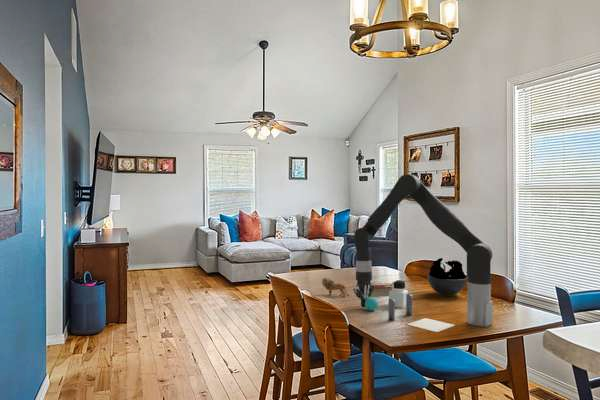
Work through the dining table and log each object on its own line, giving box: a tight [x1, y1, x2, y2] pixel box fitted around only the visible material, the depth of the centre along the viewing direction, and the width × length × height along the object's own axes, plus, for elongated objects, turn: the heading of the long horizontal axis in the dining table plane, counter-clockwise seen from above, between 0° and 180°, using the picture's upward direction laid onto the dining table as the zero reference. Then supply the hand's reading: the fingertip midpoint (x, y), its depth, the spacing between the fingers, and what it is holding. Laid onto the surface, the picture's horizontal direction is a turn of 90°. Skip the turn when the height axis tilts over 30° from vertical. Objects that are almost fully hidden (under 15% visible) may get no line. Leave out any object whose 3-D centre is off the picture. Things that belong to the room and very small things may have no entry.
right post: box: [405, 293, 413, 317], centre depth 208 cm, size 3×3×9 cm
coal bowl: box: [427, 257, 468, 297], centre depth 247 cm, size 20×20×19 cm
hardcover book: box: [369, 283, 393, 298], centre depth 251 cm, size 12×21×4 cm, turn 107°
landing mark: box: [406, 317, 456, 333], centre depth 192 cm, size 14×14×1 cm
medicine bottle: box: [388, 279, 409, 309], centre depth 224 cm, size 7×7×12 cm
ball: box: [364, 296, 379, 312], centre depth 215 cm, size 6×6×6 cm
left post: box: [387, 298, 396, 322], centre depth 199 cm, size 3×3×9 cm
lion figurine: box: [321, 277, 350, 298], centre depth 245 cm, size 15×5×9 cm, turn 73°
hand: (364, 306), depth 219 cm, fingers closed
